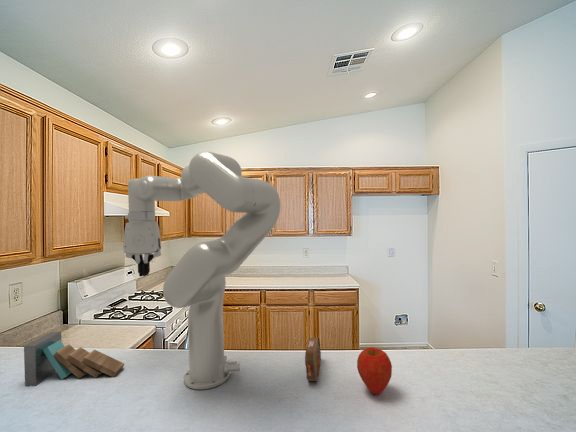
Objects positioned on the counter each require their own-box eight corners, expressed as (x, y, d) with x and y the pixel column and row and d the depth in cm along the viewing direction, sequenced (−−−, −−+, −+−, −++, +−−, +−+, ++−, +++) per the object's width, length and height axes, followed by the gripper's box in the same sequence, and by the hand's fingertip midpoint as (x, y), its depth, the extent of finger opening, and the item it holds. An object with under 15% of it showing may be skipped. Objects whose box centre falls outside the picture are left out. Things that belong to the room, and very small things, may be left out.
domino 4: (124, 363, 91) (94, 349, 91) (115, 372, 86) (83, 357, 86) (122, 368, 91) (92, 354, 91) (113, 377, 86) (81, 362, 86)
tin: (316, 388, 78) (315, 355, 78) (304, 387, 78) (303, 354, 78) (321, 360, 92) (320, 332, 92) (311, 359, 93) (310, 332, 93)
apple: (350, 388, 77) (349, 345, 77) (377, 379, 80) (375, 339, 80) (372, 407, 69) (371, 360, 69) (400, 397, 73) (399, 352, 73)
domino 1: (78, 367, 90) (60, 339, 90) (66, 376, 85) (47, 347, 85) (73, 370, 90) (55, 342, 90) (61, 379, 85) (42, 350, 85)
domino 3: (108, 364, 91) (80, 347, 90) (99, 373, 86) (69, 354, 85) (105, 369, 91) (77, 351, 90) (95, 378, 86) (65, 359, 85)
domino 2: (94, 365, 91) (68, 344, 90) (83, 374, 86) (56, 351, 85) (90, 369, 91) (65, 348, 90) (79, 378, 86) (52, 355, 85)
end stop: (62, 367, 93) (61, 331, 93) (36, 385, 83) (35, 345, 83) (52, 367, 93) (51, 332, 93) (25, 386, 83) (23, 346, 83)
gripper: (111, 218, 91) (113, 278, 92) (161, 217, 92) (163, 277, 92) (124, 218, 99) (126, 274, 99) (170, 217, 100) (171, 272, 100)
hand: (144, 275), depth 96 cm, fingers closed
